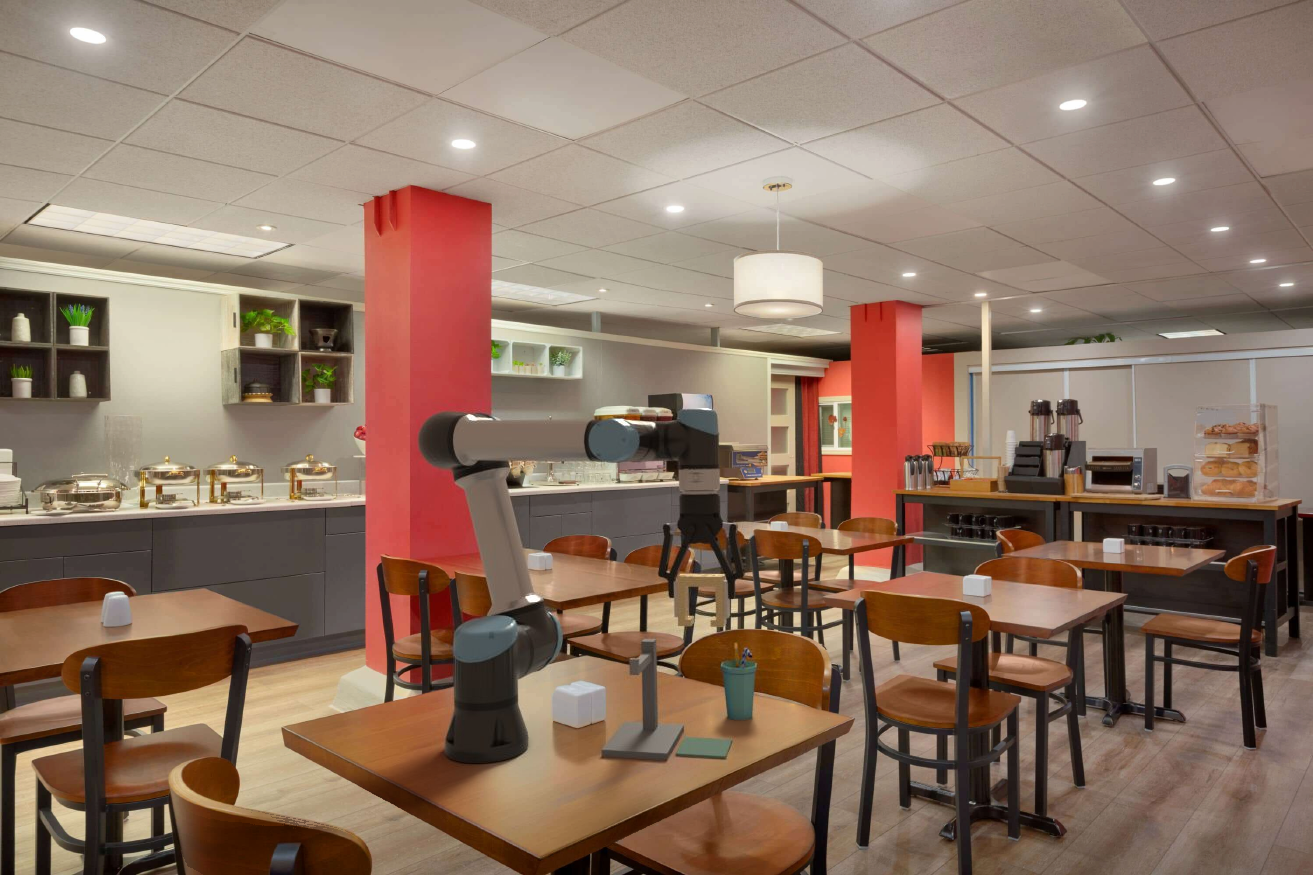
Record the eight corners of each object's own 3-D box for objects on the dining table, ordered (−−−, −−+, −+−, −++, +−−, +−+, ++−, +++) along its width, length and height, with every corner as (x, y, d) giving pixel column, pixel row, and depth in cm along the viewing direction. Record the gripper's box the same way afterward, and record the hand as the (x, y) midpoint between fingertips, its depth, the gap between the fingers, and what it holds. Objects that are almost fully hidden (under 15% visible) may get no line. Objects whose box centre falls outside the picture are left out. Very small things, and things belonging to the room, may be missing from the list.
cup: (771, 726, 162) (769, 649, 163) (733, 729, 161) (731, 652, 161) (748, 706, 176) (747, 635, 177) (713, 709, 174) (712, 637, 175)
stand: (601, 756, 148) (599, 654, 148) (624, 727, 163) (622, 636, 164) (667, 760, 145) (665, 657, 146) (684, 730, 161) (682, 637, 161)
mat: (675, 755, 147) (675, 753, 147) (684, 738, 156) (684, 736, 156) (725, 758, 146) (725, 756, 146) (732, 741, 154) (732, 739, 154)
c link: (678, 625, 151) (677, 576, 151) (681, 622, 154) (680, 573, 154) (723, 626, 149) (722, 576, 149) (726, 623, 152) (725, 574, 153)
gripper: (638, 494, 151) (641, 618, 150) (755, 492, 146) (758, 621, 146) (648, 492, 158) (650, 611, 157) (759, 491, 153) (762, 613, 153)
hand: (702, 616), depth 152 cm, fingers closed on c link, 8 cm apart
